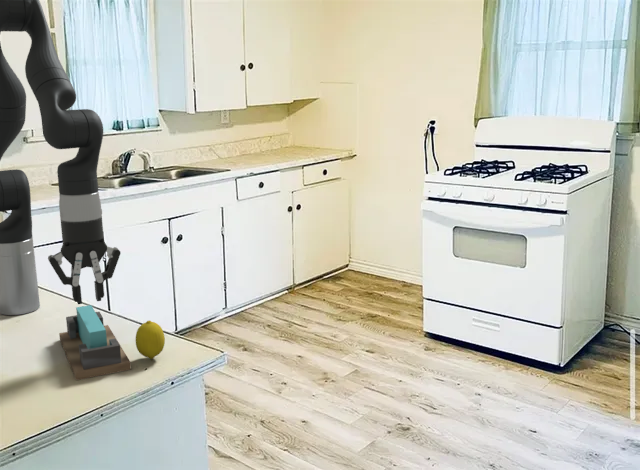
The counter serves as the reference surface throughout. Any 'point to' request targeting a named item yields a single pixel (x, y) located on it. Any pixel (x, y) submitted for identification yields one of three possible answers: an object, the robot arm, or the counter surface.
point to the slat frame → (92, 353)
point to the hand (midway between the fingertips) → (88, 301)
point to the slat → (90, 327)
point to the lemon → (150, 339)
